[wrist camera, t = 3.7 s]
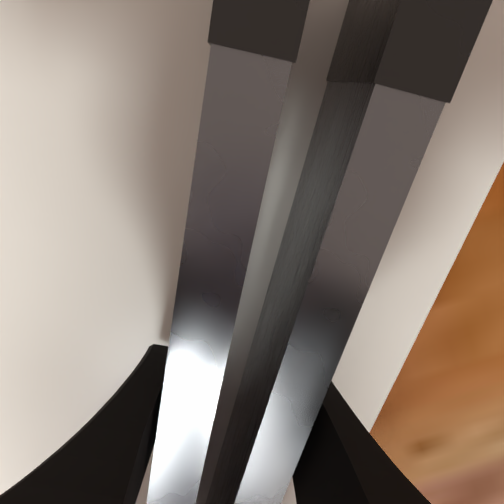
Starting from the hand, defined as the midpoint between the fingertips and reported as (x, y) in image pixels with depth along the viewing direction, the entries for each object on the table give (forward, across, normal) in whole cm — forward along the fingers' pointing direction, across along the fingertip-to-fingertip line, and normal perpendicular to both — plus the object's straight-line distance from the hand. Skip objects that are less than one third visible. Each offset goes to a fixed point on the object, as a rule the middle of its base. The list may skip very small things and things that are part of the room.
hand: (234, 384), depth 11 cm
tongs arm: (+1, +1, -1) cm, 2 cm away
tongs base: (+1, 0, 0) cm, 1 cm away
